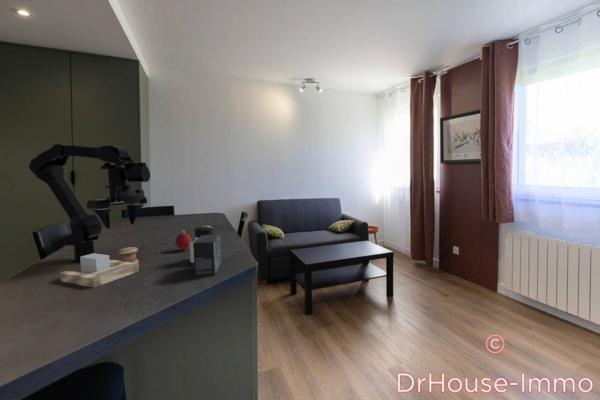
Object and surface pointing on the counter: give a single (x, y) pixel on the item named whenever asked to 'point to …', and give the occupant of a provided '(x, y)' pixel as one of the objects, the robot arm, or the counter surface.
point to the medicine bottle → (198, 232)
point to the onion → (183, 240)
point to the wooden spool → (129, 254)
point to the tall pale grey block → (94, 263)
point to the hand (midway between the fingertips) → (120, 226)
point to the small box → (207, 255)
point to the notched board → (101, 274)
